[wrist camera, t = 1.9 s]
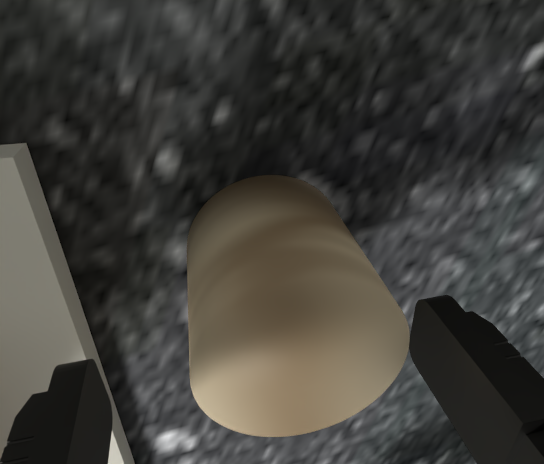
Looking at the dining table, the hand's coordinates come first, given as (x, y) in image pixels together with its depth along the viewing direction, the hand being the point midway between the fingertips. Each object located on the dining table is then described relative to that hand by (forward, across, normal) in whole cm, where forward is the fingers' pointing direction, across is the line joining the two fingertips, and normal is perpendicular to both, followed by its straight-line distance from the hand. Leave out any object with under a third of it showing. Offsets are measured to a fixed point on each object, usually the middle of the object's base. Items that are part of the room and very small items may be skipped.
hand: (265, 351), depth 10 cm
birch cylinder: (+4, -1, 0) cm, 4 cm away
